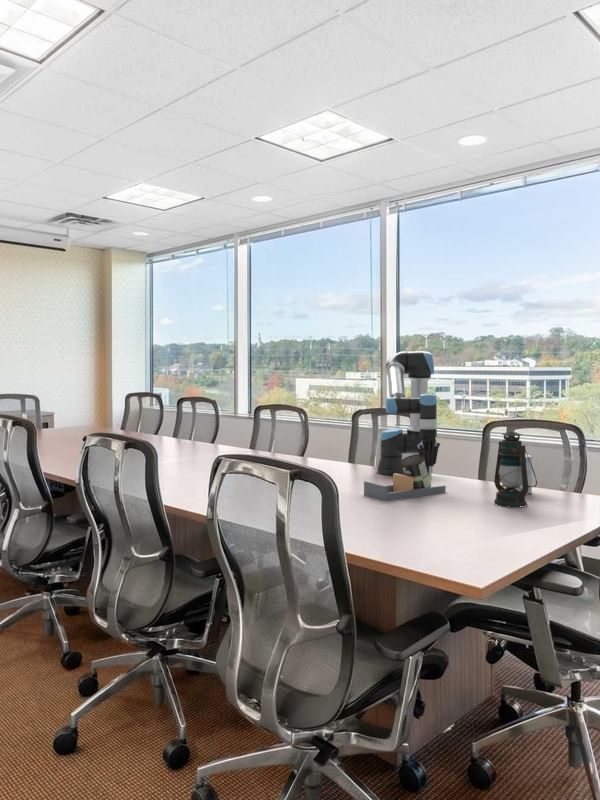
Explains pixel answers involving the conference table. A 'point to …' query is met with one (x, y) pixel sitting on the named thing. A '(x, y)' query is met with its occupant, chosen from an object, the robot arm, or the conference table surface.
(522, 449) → the lantern
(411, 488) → the block
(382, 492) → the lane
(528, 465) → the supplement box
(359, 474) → the conference table surface
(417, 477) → the coffee can
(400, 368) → the robot arm
